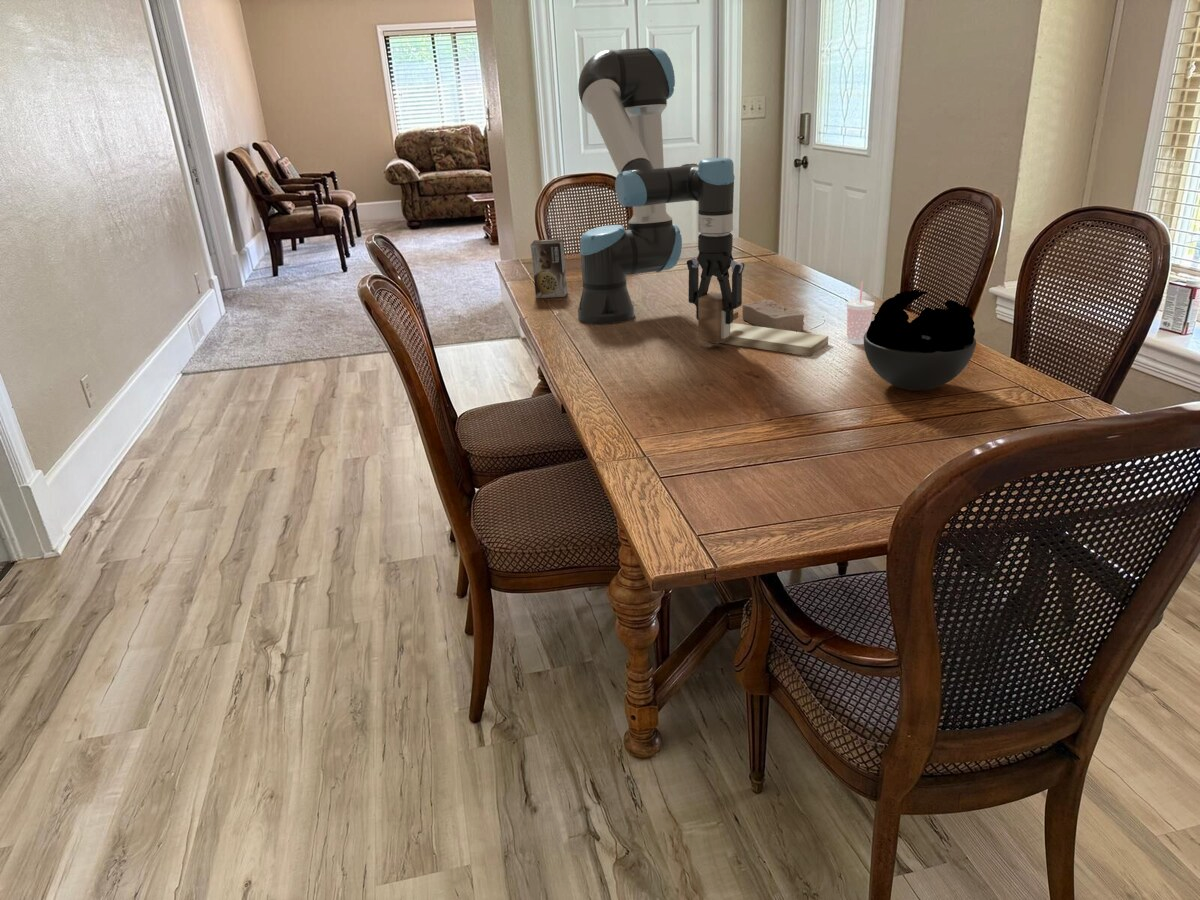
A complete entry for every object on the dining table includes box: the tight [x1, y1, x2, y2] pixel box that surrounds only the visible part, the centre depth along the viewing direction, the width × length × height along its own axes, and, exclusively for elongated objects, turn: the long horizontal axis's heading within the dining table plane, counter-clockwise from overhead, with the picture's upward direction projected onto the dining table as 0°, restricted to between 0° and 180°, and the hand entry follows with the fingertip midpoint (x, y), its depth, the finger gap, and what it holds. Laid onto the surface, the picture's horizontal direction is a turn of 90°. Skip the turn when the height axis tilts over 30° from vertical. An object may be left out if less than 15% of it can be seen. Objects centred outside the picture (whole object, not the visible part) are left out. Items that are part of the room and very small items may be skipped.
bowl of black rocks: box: [863, 289, 977, 391], centre depth 152 cm, size 20×20×19 cm
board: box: [718, 322, 829, 357], centre depth 187 cm, size 26×10×2 cm, turn 53°
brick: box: [741, 299, 805, 332], centre depth 200 cm, size 17×8×5 cm, turn 22°
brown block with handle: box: [697, 291, 739, 344], centre depth 186 cm, size 5×13×10 cm, turn 143°
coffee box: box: [530, 238, 568, 299], centre depth 239 cm, size 9×6×16 cm
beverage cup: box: [845, 280, 875, 345], centre depth 182 cm, size 6×6×14 cm
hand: (714, 335), depth 186 cm, fingers closed on brown block with handle, 5 cm apart
